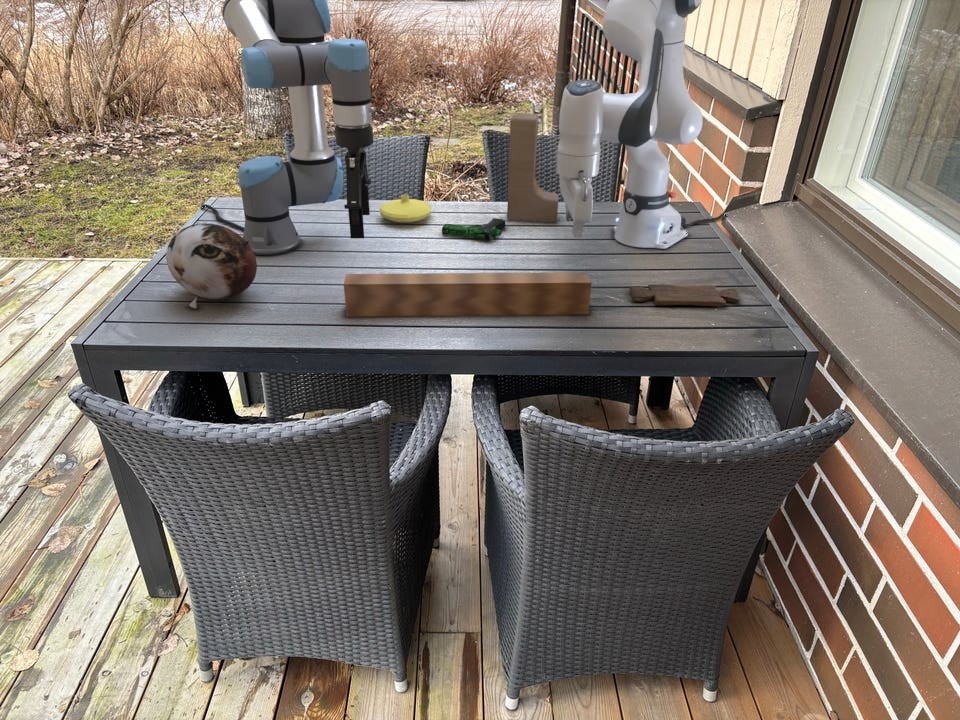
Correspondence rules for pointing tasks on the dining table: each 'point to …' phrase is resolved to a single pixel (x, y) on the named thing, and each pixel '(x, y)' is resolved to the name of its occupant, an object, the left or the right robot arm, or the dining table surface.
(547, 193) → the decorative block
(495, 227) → the handgun
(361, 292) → the bar
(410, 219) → the yellow knobbed lid
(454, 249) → the dining table surface
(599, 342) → the dining table surface
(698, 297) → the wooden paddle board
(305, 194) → the left robot arm
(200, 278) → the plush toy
